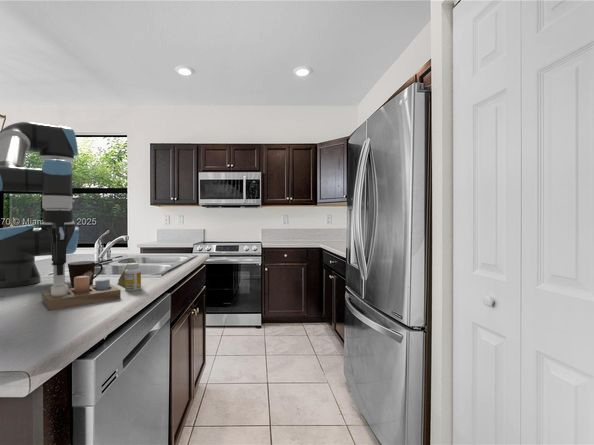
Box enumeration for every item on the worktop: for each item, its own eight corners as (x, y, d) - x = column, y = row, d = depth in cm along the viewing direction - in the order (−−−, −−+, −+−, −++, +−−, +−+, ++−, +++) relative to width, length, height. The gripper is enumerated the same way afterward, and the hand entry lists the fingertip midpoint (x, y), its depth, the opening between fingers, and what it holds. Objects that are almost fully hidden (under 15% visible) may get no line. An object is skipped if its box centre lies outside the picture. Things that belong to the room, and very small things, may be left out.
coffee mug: (69, 293, 114) (69, 265, 114) (66, 289, 121) (66, 262, 121) (107, 288, 122) (106, 262, 122) (102, 284, 129) (102, 259, 128)
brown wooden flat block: (42, 301, 104) (42, 291, 104) (108, 291, 118) (108, 283, 118) (49, 310, 94) (49, 300, 94) (120, 298, 108) (120, 289, 108)
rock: (147, 280, 125) (147, 273, 134) (132, 264, 122) (132, 257, 131) (122, 299, 123) (123, 290, 131) (106, 283, 119) (108, 274, 128)
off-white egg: (50, 301, 102) (49, 285, 102) (66, 299, 105) (66, 283, 105) (52, 304, 99) (52, 287, 99) (69, 301, 102) (68, 285, 102)
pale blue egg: (94, 294, 110) (93, 280, 110) (107, 292, 113) (107, 278, 113) (97, 297, 107) (97, 282, 107) (111, 294, 110) (111, 280, 110)
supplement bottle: (138, 287, 125) (137, 261, 124) (143, 289, 121) (142, 263, 120) (122, 289, 121) (122, 263, 121) (127, 291, 117) (127, 265, 117)
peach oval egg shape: (72, 292, 106) (72, 277, 106) (87, 290, 109) (87, 275, 109) (75, 294, 103) (75, 278, 103) (91, 292, 106) (90, 277, 106)
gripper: (77, 209, 99) (78, 286, 100) (68, 210, 108) (69, 280, 109) (46, 209, 94) (47, 290, 94) (39, 209, 103) (41, 283, 103)
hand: (59, 285), depth 102 cm, fingers closed
